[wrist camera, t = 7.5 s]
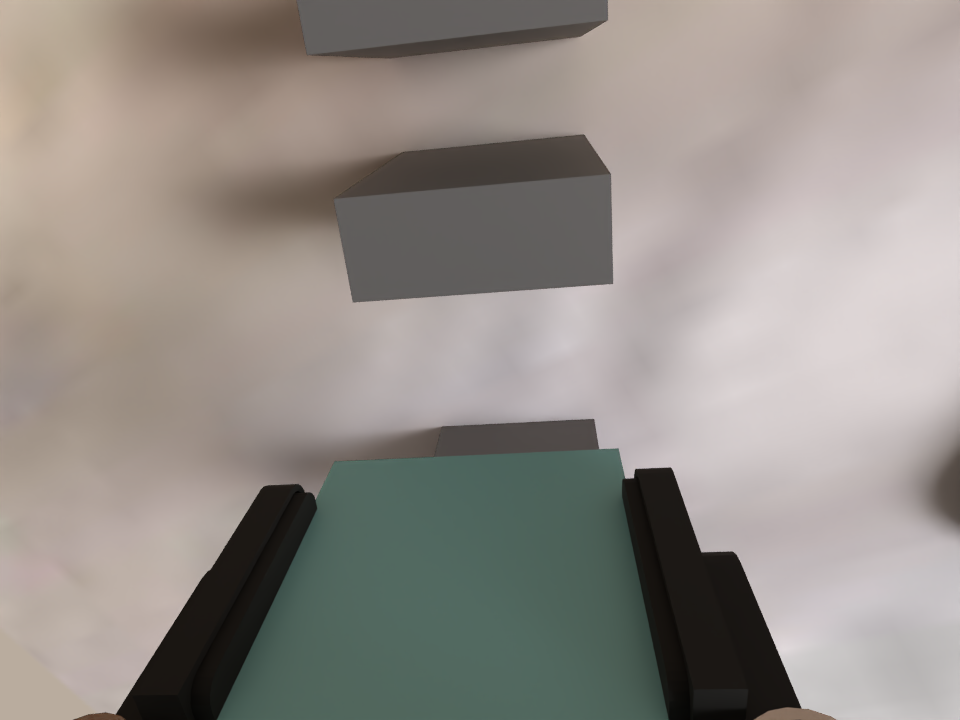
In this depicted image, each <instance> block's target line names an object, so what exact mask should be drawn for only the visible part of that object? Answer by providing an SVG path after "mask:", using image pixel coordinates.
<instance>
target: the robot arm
mask: <svg viewBox="0 0 960 720" xmlns="http://www.w3.org/2000/svg"><path fill="white" fill-rule="evenodd" d="M622 499H623V504H624V509H625V513H626V518H627V523H628V528H629V532H630V537H631V542H632V547H633V552H634V556H635V561H636V566H637V571H638V575H639V580H640V585H641V590H642V595H643V599H644V604H645V609H646V614H647V618H648V623H649V628H650V633H651V638H652V642H653V647H654V652H655V657H656V662H657V666H658V671H659V676H660V681H661V685H662V690H663V695H664V700H665V705H666V709H667V714H668V719H669V720H836V719H834V718H833V717H831V716H828V715H825V714H822V713H819V712H816V711H813V710H810V709H801V706H800V704H799V701H798V699H797V697H796V694H795V692H794V689H793V687H792V685H791V682H790V680H789V677H788V675H787V673H786V670H785V668H784V665H783V663H782V661H781V658H780V656H779V653H778V651H777V649H776V646H775V644H774V641H773V639H772V637H771V634H770V632H769V629H768V627H767V625H766V622H765V620H764V617H763V615H762V613H761V610H760V608H759V606H758V603H757V601H756V598H755V596H754V594H753V591H752V589H751V586H750V584H749V582H748V579H747V577H746V574H745V572H744V570H743V567H742V565H741V562H740V561H739V559H738V557H737V555H736V554H735V553H734V552H702V553H701V550H700V548H699V545H698V542H697V539H696V536H695V533H694V530H693V527H692V524H691V522H690V519H689V516H688V513H687V510H686V507H685V504H684V501H683V498H682V496H681V493H680V490H679V487H678V484H677V481H676V478H675V475H674V472H673V470H672V468H649V469H635V474H634V478H632V479H623V480H622ZM316 511H317V504H316V500H315V497H314V495H313V494H312V493H310V492H308V493H305V492H304V489H303V488H302V486H301V485H299V484H291V485H268V486H264V487H263V488H262V489H261V490H260V492H259V494H258V495H257V497H256V498H255V500H254V502H253V503H252V505H251V506H250V508H249V510H248V511H247V513H246V514H245V516H244V518H243V519H242V521H241V522H240V524H239V525H238V527H237V529H236V530H235V532H234V533H233V535H232V537H231V538H230V540H229V541H228V543H227V545H226V546H225V548H224V549H223V551H222V553H221V554H220V556H219V557H218V559H217V561H216V562H215V564H214V565H213V567H212V569H211V570H209V571H208V572H207V573H206V574H205V575H204V577H203V578H202V579H201V581H200V582H199V584H198V585H197V587H196V589H195V590H194V592H193V593H192V595H191V597H190V598H189V600H188V601H187V603H186V604H185V606H184V608H183V609H182V611H181V612H180V614H179V615H178V617H177V619H176V620H175V622H174V623H173V625H172V626H171V628H170V630H169V631H168V633H167V634H166V636H165V638H164V639H163V641H162V642H161V644H160V645H159V647H158V649H157V650H156V652H155V653H154V655H153V656H152V658H151V660H150V661H149V663H148V664H147V666H146V667H145V669H144V671H143V672H142V674H141V675H140V677H139V679H138V680H137V682H136V683H135V685H134V686H133V688H132V690H131V691H130V693H129V694H128V696H127V697H126V699H125V701H124V702H123V704H122V705H121V707H120V709H119V710H118V712H117V713H116V714H111V713H106V712H105V713H96V714H88V715H85V716H82V717H79V718H77V719H74V720H217V719H218V717H219V714H220V712H221V710H222V708H223V706H224V704H225V702H226V700H227V698H228V696H229V693H230V691H231V689H232V687H233V685H234V683H235V681H236V679H237V677H238V675H239V672H240V670H241V668H242V666H243V664H244V662H245V660H246V658H247V656H248V654H249V651H250V649H251V647H252V645H253V643H254V641H255V639H256V637H257V635H258V633H259V630H260V628H261V626H262V624H263V622H264V620H265V618H266V616H267V614H268V612H269V609H270V607H271V605H272V603H273V601H274V599H275V597H276V595H277V593H278V591H279V588H280V586H281V584H282V582H283V580H284V578H285V576H286V574H287V572H288V570H289V567H290V565H291V563H292V561H293V559H294V557H295V555H296V553H297V551H298V549H299V546H300V544H301V542H302V540H303V538H304V536H305V534H306V532H307V530H308V528H309V525H310V523H311V521H312V519H313V517H314V515H315V513H316Z"/></svg>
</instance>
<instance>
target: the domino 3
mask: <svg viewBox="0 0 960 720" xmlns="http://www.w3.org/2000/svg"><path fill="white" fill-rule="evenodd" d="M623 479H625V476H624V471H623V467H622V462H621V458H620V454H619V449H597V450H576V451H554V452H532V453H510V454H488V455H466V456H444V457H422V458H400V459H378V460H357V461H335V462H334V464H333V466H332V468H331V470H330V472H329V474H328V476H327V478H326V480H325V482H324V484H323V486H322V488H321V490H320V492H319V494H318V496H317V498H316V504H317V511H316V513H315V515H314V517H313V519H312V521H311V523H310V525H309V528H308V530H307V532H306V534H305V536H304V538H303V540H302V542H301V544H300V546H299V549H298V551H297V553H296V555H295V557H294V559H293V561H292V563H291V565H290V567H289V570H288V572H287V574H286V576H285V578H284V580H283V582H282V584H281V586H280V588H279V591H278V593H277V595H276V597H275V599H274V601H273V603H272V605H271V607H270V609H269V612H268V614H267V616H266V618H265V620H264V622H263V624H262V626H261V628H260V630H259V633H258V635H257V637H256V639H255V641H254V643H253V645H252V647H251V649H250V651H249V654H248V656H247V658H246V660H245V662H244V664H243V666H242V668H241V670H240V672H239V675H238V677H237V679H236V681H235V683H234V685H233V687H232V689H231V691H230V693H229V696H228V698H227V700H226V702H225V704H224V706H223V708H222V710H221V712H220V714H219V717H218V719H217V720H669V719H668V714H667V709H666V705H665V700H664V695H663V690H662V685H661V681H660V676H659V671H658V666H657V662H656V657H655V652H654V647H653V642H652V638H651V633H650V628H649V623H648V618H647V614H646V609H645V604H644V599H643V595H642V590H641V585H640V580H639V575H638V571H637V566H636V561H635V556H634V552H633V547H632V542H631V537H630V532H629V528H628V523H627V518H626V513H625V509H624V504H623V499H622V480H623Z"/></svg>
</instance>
